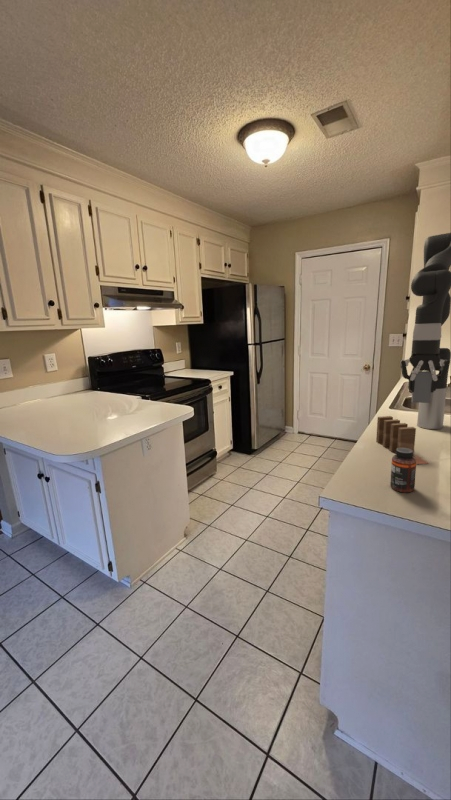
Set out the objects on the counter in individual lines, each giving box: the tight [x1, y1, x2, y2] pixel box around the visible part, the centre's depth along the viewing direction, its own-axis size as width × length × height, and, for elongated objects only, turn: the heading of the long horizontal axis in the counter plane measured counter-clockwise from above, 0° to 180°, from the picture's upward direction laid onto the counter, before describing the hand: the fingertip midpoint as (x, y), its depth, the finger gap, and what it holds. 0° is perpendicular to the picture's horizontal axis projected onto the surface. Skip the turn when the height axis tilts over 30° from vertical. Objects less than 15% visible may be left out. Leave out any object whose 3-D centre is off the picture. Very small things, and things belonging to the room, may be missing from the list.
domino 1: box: [376, 415, 394, 444], centre depth 124 cm, size 2×5×10 cm, turn 94°
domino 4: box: [397, 426, 417, 457], centre depth 110 cm, size 2×5×10 cm, turn 94°
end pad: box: [413, 456, 428, 465], centre depth 107 cm, size 5×6×1 cm
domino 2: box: [382, 418, 401, 449], centre depth 119 cm, size 2×5×10 cm, turn 94°
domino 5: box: [411, 371, 432, 404], centre depth 105 cm, size 2×5×10 cm, turn 71°
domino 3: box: [388, 422, 409, 453], centre depth 115 cm, size 2×5×10 cm, turn 94°
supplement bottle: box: [389, 448, 417, 493], centre depth 90 cm, size 6×6×11 cm
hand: (421, 391), depth 106 cm, fingers closed on domino 5, 5 cm apart
